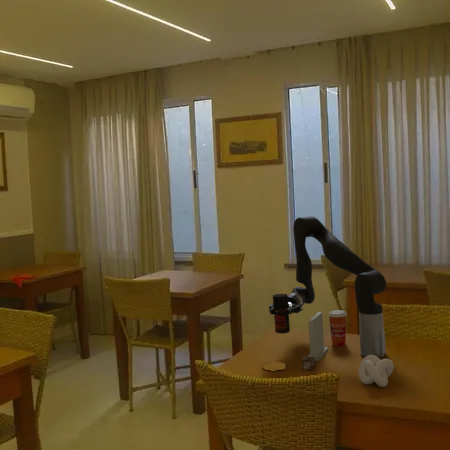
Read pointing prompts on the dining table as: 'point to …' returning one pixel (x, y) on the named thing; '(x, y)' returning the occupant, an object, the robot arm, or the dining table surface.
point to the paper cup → (338, 327)
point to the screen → (316, 337)
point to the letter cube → (308, 363)
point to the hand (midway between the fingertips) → (279, 312)
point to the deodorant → (281, 313)
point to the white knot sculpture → (375, 370)
